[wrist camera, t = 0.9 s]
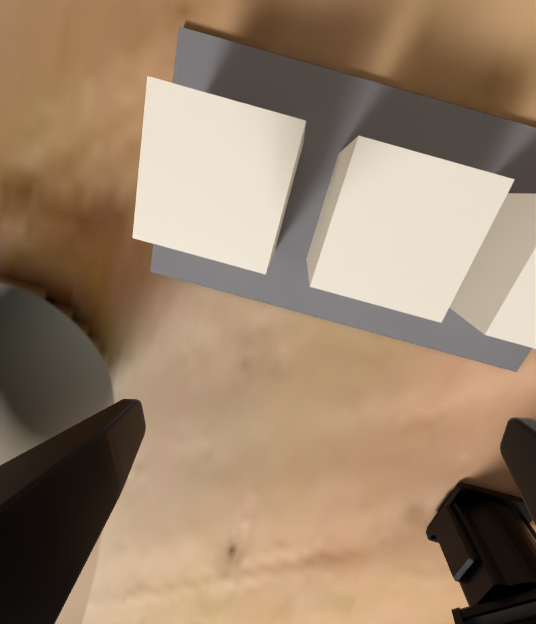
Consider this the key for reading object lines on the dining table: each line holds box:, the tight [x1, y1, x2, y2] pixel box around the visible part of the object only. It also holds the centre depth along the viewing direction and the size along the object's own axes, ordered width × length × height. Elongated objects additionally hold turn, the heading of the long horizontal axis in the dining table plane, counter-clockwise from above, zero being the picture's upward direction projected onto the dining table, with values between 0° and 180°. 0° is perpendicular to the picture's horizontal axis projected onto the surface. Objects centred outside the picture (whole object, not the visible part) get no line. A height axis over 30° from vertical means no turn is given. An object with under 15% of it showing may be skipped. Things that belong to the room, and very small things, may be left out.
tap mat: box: [150, 26, 536, 372], centre depth 18 cm, size 25×13×1 cm, turn 76°
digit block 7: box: [133, 76, 306, 275], centre depth 15 cm, size 6×6×6 cm
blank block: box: [306, 136, 515, 323], centre depth 15 cm, size 6×6×6 cm
